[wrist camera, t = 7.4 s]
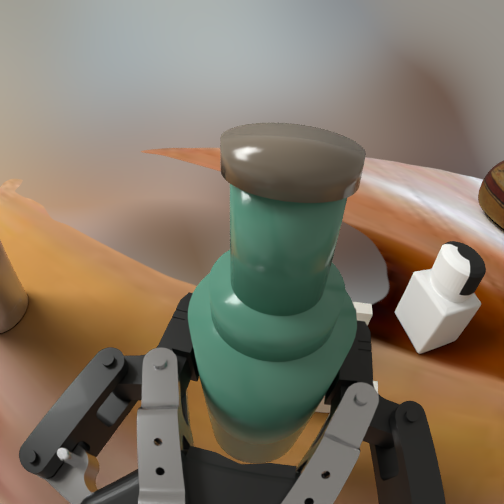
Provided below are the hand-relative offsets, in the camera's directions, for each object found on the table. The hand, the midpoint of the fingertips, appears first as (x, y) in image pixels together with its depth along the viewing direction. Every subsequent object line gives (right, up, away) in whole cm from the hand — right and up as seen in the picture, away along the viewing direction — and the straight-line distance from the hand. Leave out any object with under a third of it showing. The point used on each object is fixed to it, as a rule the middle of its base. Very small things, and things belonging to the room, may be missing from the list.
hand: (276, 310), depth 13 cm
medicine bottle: (+21, -7, +20) cm, 30 cm away
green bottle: (-1, -8, +3) cm, 8 cm away
